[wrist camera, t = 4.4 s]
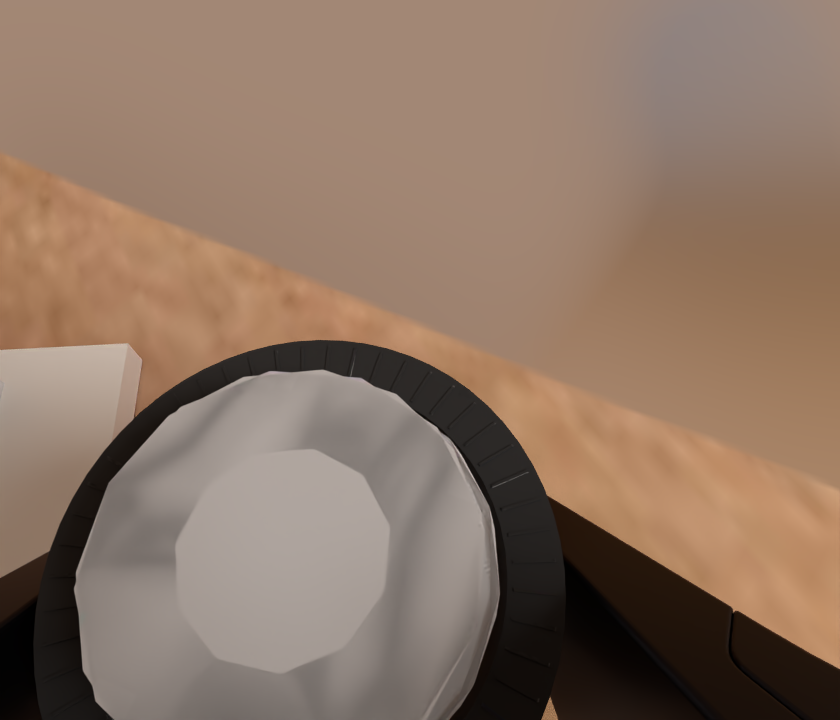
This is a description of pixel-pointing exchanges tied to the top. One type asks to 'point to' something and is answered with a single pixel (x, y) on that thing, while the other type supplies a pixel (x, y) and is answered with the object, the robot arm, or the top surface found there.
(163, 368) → the top surface
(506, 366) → the top surface
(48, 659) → the push button
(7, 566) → the rail board
